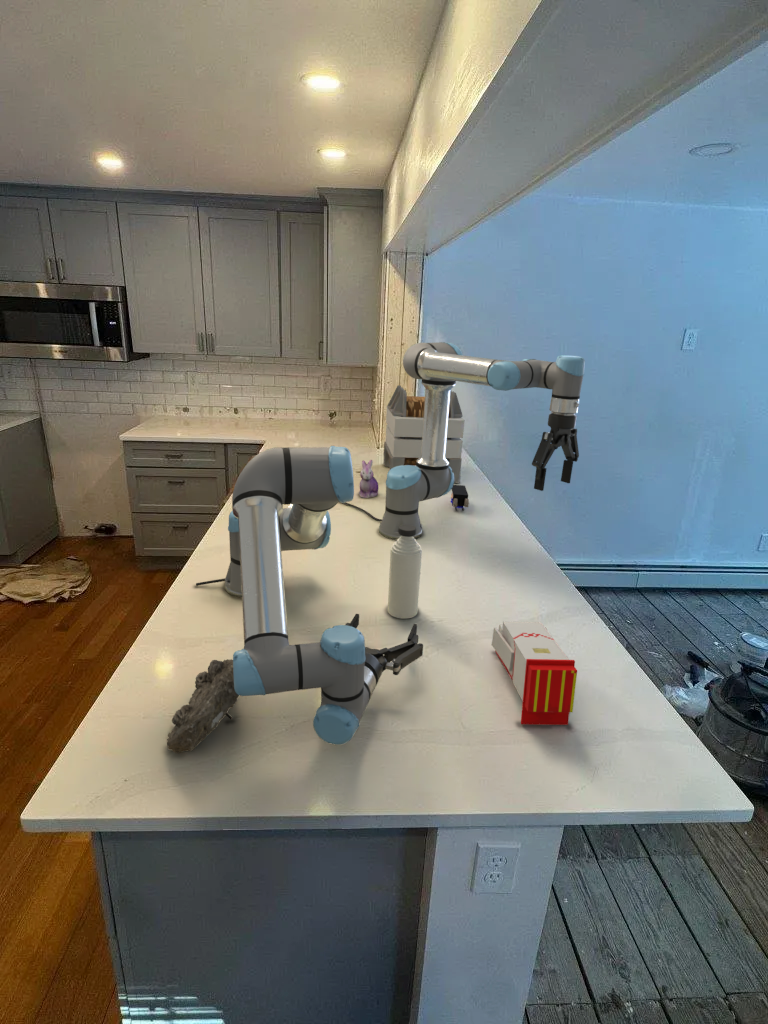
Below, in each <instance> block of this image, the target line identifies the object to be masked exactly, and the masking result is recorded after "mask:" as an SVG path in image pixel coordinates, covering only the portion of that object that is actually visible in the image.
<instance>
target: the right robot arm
mask: <svg viewBox="0 0 768 1024" xmlns="http://www.w3.org/2000/svg"><path fill="white" fill-rule="evenodd" d="M585 365H586V360H585V358H584V357H582V356H578V355H566V354H565V355H564V354H563V355H558V356H557V357H556V360H555V361H549V360H541V359H536V358H524V359H521V360H506V359H505V360H504V359H503V360H502V359H496V358H487V357H479V356H471V355H464V354H463V352H462V350H461V349H460V347H459V346H457V345H456V344H455V343H451V342H445V341H443V342H442V341H441V342H440V341H439V342H438V341H437V342H417V343H414V344H412V345H411V346H409V347H408V348H407V350H406V351H405V353H404V355H403V358H402V366H403V369H404V372H405V373H406V374H407V375H408V376H409V377H411V378H412V379H415V380H421V385H422V386H423V387H424V389H425V392H424V397H425V404H424V419H423V434H422V449H421V457H420V458H418V459H417V461H416V466H413V465H401V466H396V467H394V468H392V469H390V468H389V470H388V472H387V474H386V479H385V504H384V505H385V507H384V508H385V509H384V513H383V515H382V519H381V518H377V517H375V516H373V515H372V514H371V513H370V512H369V511H367V510H365V509H363V508H361V507H359V506H356V505H354V504H352V503H350V502H345V503H341V502H339V504H343V505H346V506H349V507H352V508H355V509H357V510H359V511H362V513H365V514H367V515H368V516H369V517H370V518H372V519H373V520H375V521H378V522H379V526H378V533H379V534H380V535H381V536H382V537H385V538H387V539H389V540H395V541H397V539H399V537H401V535H400V534H399V533H398V532H399V526H401V525H413V526H415V527H416V535H415V536H413V537H414V538H415V539H418V538H420V537H421V536H422V535H423V523H422V522H421V518H420V515H419V507H420V506H419V505H420V502H423V501H427V500H431V499H437V498H440V497H443V496H446V495H448V493H450V492H451V491H452V487H453V485H455V483H454V473H452V469H451V467H450V466H449V462H448V461H447V459H446V458H445V453H446V441H447V428H448V416H449V404H450V392H451V391H452V389H453V388H454V387H455V386H456V384H457V382H461V383H465V384H473V385H479V386H487V387H491V388H492V389H494V390H496V391H503V392H504V391H511V390H520V389H532V388H533V389H534V388H539V389H546V390H551V398H550V404H549V413H548V418H547V419H548V420H547V426H548V427H549V428H550V431H549V432H548V431H543V432H542V435H541V440H540V442H539V445H538V447H537V449H536V452H535V454H534V457H533V460H532V461H531V466H533V467H535V475H534V477H535V478H534V485H533V489H534V490H537V491H539V492H543V491H544V489H545V484H546V483H545V482H546V476H547V468H546V466H547V465H548V463H549V461H550V459H551V457H552V456H553V454H554V453H555V451H556V450H557V449H558V448H560V447H561V449H562V452H563V455H564V458H565V459H563V463H562V468H561V469H562V470H561V475H560V482H562V483H566V484H571V478H572V472H573V466H574V463H576V462H578V461H579V457H580V453H579V444H578V428H576V423H577V419H578V416H577V414H578V412H579V411H578V410H579V406H580V397H581V391H582V385H583V380H584V376H585Z"/></svg>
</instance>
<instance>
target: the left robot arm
mask: <svg viewBox="0 0 768 1024" xmlns="http://www.w3.org/2000/svg"><path fill="white" fill-rule="evenodd" d="M234 484H235V485H234V488H233V492H232V496H231V497H232V498H231V504H232V505H231V507H232V509H231V511H230V512H229V515H228V526H227V530H228V533H229V534H228V536H229V556H230V558H229V561H230V562H229V565H228V568H227V572H226V575H225V578H219V579H218V578H217V579H212V580H207V581H199V582H196V583H195V586H196V587H197V586H203V585H209V584H215V583H221V582H224V589H225V592H227V593H228V594H230V595H232V596H233V597H236V598H241V605H242V608H241V609H242V627H243V648H241V649H240V650H235V651H234V652H233V654H232V660H233V673H234V689H235V692H236V693H237V694H238V695H239V697H249V696H251V697H252V696H266V695H272V694H278V693H284V692H294V691H303V690H304V691H305V690H312V689H320V705H319V707H317V709H316V710H315V714H314V717H313V721H312V726H313V729H314V732H315V734H316V735H317V736H318V738H319V739H320V740H322V741H323V742H325V743H327V744H331V745H334V746H341V745H344V744H347V743H348V742H350V741H351V740H352V739H353V737H354V735H355V733H356V731H357V730H358V729H359V728H360V723H361V721H362V719H363V717H364V714H365V712H366V709H367V707H368V705H369V702H370V700H371V698H372V695H373V694H374V691H375V690H376V687H377V685H378V684H379V681H380V679H381V676H382V674H383V672H384V671H386V670H388V671H392V675H394V676H398V675H399V674H400V673H401V671H402V670H403V669H405V668H406V667H407V666H409V665H410V664H412V663H414V662H415V661H416V660H418V659H420V658H421V657H423V656H424V655H423V653H424V644H423V643H421V642H419V634H417V631H418V624H417V623H413V624H412V627H411V629H410V631H409V634H408V636H407V639H406V640H407V641H405V642H403V643H400V644H397V645H395V646H392V647H389V648H388V647H383V648H380V649H378V648H371V647H367V646H366V645H365V641H366V640H365V636H364V635H363V633H362V631H360V630H359V629H358V627H359V625H360V613H355V614H354V616H353V617H352V619H351V621H350V622H346V623H345V624H338V625H334V626H333V627H328V628H327V629H325V630H324V631H323V632H322V634H321V638H320V640H319V641H317V642H307V643H297V644H290V641H289V628H288V627H289V626H288V618H287V617H288V616H287V606H286V605H287V604H286V592H285V582H284V581H285V580H284V579H285V578H284V570H283V569H284V568H283V556H282V552H285V551H286V552H287V551H302V550H303V551H304V550H318V549H324V548H325V547H327V546H328V544H329V542H330V539H331V537H330V536H331V533H332V525H331V524H332V522H331V521H332V520H331V516H330V512H329V511H330V510H331V509H333V508H334V507H335V506H336V505H337V504H338V503H340V502H341V503H340V504H343V503H345V502H346V503H350V502H352V501H353V500H354V496H355V482H354V468H353V460H352V454H351V451H350V450H349V448H348V447H345V446H335V445H331V446H302V447H301V446H299V447H298V446H296V447H295V446H294V447H291V446H289V447H282V446H277V447H270V448H267V449H265V450H263V451H261V452H259V453H258V454H256V455H254V456H253V458H251V459H250V460H249V461H248V462H247V463H246V464H245V466H244V468H243V469H242V470H241V471H240V474H239V476H238V477H237V479H236V481H235V483H234ZM284 505H288V506H287V507H284Z"/></svg>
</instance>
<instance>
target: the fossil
mask: <svg viewBox="0 0 768 1024" xmlns="http://www.w3.org/2000/svg"><path fill="white" fill-rule="evenodd" d="M194 684H195V685H194V687H195V689H194V690H193V693H192V694H191V697H190V698H189V700H188V704H184V705H182V706H181V707H180V709H177V710H176V711H175V713H174V715H173V716H172V718H171V723H172V724H173V727H172V730H171V731H170V732H168V734H167V738H166V741H167V742H166V745H167V749H168V750H169V751H173V752H174V753H176V754H178V753H182V752H188V751H189V752H192V751H193V750H195V748H196V747H197V746H199V744H200V743H201V742H203V741H204V740H205V739H206V738H207V737H208V736H209V735H210V734H211V733H212V732H214V730H215V729H217V727H218V726H219V724H220V722H221V721H222V720H223V719H224V718H225V716H226V717H227V719H229V720H233V717H232V715H230V714H229V710H230V709H231V708H234V706H235V704H236V703H237V702H238V699H239V697H240V695H238V694H237V693H236V692H235V689H234V673H233V658H231V659H227V658H226V659H224V660H223V661H222V660H217V659H212V660H211V661H210V663H209V665H208V666H207V671H201V672H199V673H198V674H197V675H196V676H195V680H194Z"/></svg>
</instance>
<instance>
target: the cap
mask: <svg viewBox="0 0 768 1024" xmlns="http://www.w3.org/2000/svg"><path fill="white" fill-rule="evenodd" d="M398 533H399V534H400V535H401V536H405V537H412V536H415V535H416V527H415V526H413V525H401V526H399V532H398Z"/></svg>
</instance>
